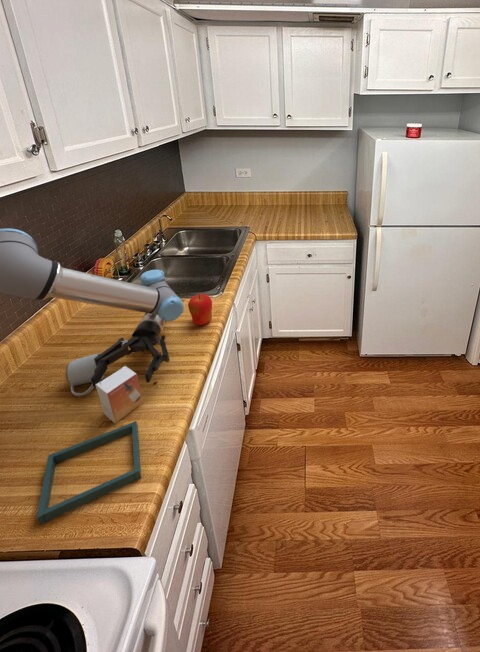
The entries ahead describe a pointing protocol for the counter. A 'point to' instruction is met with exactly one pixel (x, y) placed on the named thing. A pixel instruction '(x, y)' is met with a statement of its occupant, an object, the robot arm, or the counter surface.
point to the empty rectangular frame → (96, 492)
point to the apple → (200, 309)
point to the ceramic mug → (81, 373)
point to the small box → (119, 394)
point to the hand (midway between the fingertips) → (120, 380)
